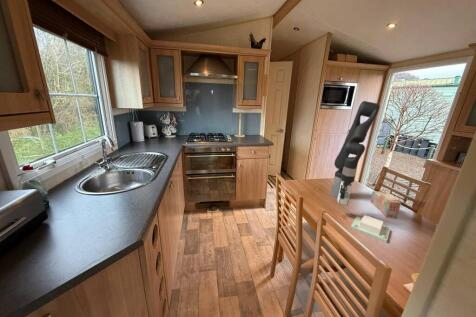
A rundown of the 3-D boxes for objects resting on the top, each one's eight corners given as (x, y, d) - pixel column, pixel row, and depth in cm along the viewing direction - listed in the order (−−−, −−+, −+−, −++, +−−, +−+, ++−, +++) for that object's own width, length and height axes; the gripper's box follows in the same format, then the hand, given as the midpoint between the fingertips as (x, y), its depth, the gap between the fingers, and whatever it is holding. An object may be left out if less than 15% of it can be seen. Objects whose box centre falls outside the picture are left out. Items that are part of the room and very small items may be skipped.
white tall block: (346, 201, 130) (350, 182, 125) (347, 206, 124) (352, 186, 120) (337, 199, 132) (341, 180, 127) (338, 204, 126) (342, 184, 122)
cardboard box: (370, 201, 148) (373, 187, 144) (379, 202, 147) (382, 187, 143) (386, 218, 128) (390, 201, 124) (396, 218, 127) (401, 202, 123)
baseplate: (350, 228, 117) (352, 220, 116) (356, 218, 127) (357, 211, 125) (386, 242, 106) (388, 234, 104) (389, 230, 115) (392, 222, 114)
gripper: (346, 169, 128) (341, 190, 134) (338, 175, 119) (333, 198, 124) (358, 172, 123) (353, 194, 129) (351, 178, 114) (346, 202, 119)
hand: (343, 196), depth 126 cm, fingers closed on white tall block, 7 cm apart
